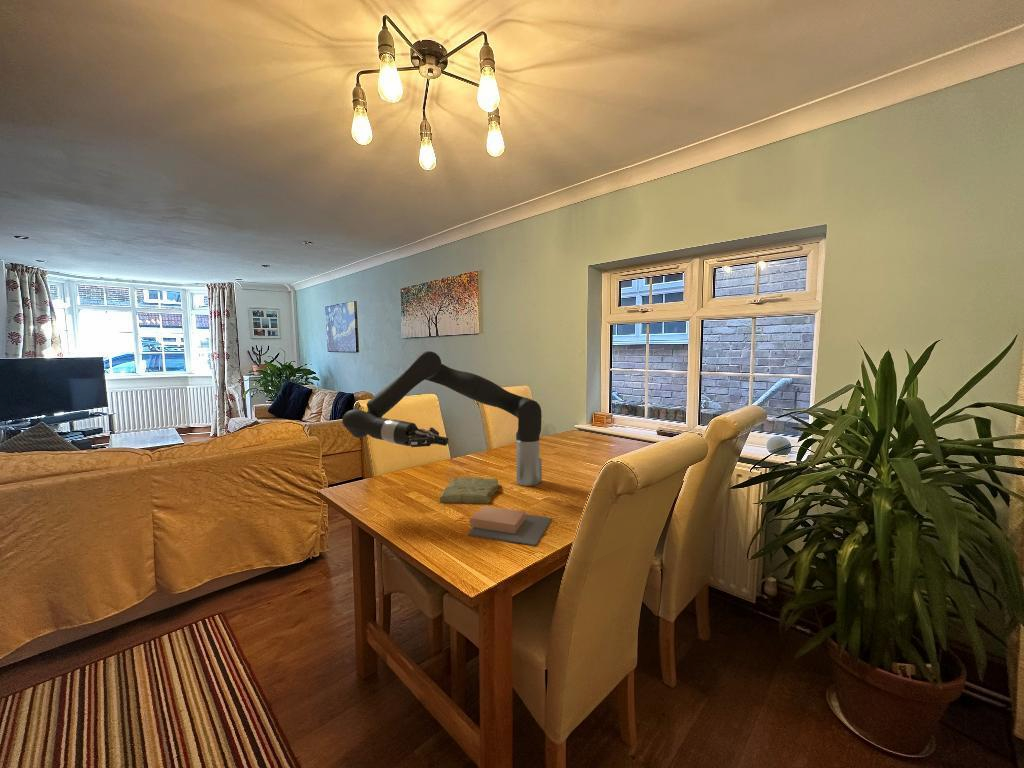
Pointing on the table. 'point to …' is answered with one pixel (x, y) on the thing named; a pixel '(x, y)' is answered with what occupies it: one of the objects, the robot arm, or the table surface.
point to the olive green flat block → (469, 490)
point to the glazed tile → (498, 519)
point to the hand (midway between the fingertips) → (447, 441)
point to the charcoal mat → (518, 531)
